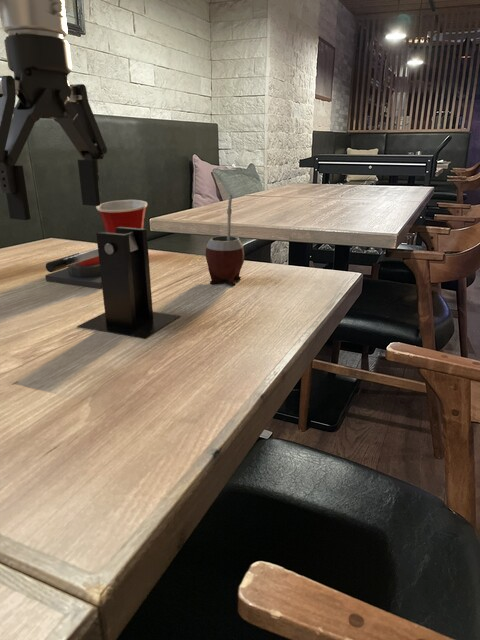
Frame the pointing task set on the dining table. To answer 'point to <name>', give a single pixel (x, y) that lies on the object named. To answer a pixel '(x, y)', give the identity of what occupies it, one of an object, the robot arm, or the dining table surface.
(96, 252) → the lever
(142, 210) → the plastic cup
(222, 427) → the dining table surface
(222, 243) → the mate gourd
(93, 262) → the button
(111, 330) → the bracket
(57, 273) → the button box
